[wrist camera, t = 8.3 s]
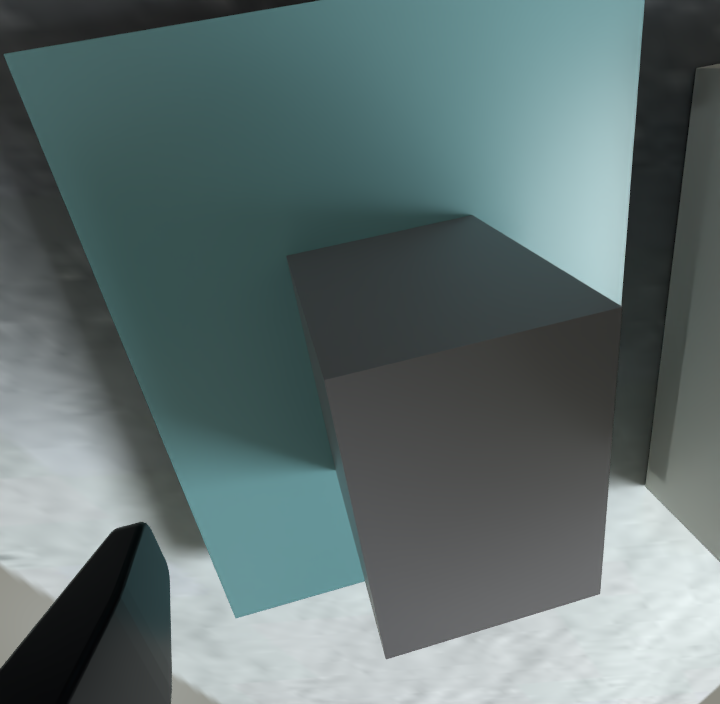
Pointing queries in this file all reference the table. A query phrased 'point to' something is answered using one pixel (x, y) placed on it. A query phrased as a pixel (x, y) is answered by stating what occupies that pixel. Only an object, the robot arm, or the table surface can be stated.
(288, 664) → the table surface
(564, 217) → the lid
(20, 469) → the table surface
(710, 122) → the storage box
